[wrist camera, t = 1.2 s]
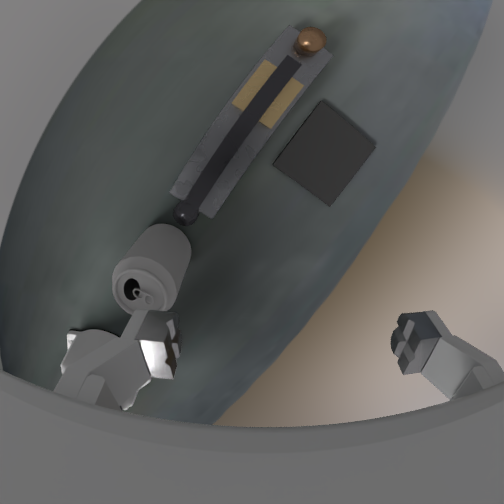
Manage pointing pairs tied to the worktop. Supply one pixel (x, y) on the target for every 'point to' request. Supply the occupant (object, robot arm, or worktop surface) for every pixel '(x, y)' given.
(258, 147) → the body
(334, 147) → the mat
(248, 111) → the lever
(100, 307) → the worktop surface
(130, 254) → the can
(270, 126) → the brown wooden block
